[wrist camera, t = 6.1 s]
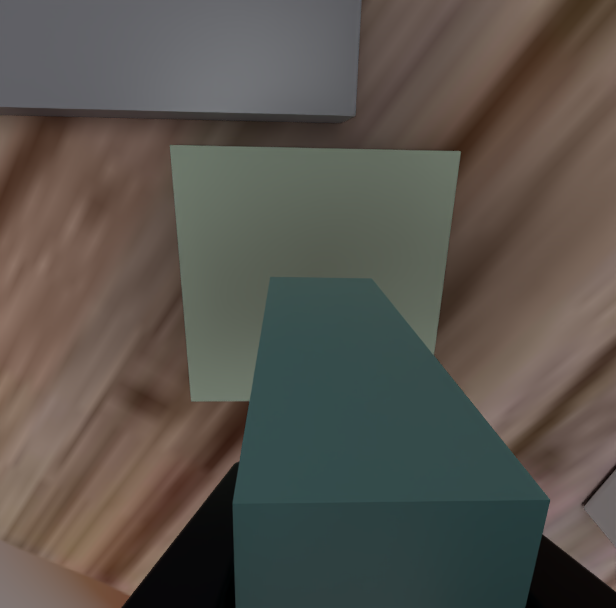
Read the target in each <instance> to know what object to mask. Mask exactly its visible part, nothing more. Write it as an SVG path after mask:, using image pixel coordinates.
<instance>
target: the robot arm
mask: <svg viewBox="0 0 616 608" xmlns="http://www.w3.org/2000/svg"><path fill="white" fill-rule="evenodd" d="M238 468H239V462H237V463H235V464H234V465H233V466H232V467H231V469H230V470H229V471H228V473H227V474H226V475H225V476H224V478H223V479H222V480H221V481H220V483H219V484H218V485H217V487H216V488H215V489H214V490H213V492H212V493H211V494H210V496H209V497H208V498H207V499H206V501H205V502H204V503H203V504H202V506H201V507H200V508H199V510H198V511H197V512H196V513H195V515H194V516H193V517H192V518H191V520H190V521H189V522H188V524H187V525H186V526H185V527H184V529H183V530H182V531H181V532H180V534H179V535H178V536H177V538H176V539H175V540H174V541H173V543H172V544H171V545H170V546H169V548H168V549H167V550H166V552H165V553H164V554H163V555H162V557H161V558H160V559H159V560H158V562H157V563H156V564H155V566H154V567H153V568H152V569H151V571H150V572H149V573H148V574H147V576H146V577H145V578H144V580H143V581H142V582H141V583H140V585H139V586H138V587H137V589H136V590H135V591H134V592H133V594H132V595H131V596H130V597H129V599H128V600H127V601H126V603H125V604H124V605H123V606H122V608H236V604H235V571H234V537H233V498H234V492H235V486H236V480H237V474H238ZM525 608H616V592H615V591H614V590H613V589H612V588H610V587H609V586H608V585H607V584H605V583H604V582H603V581H601V580H600V579H599V578H598V577H596V576H595V575H594V574H592V573H591V572H590V571H589V570H587V569H586V568H585V567H584V566H582V565H581V564H580V563H578V562H577V561H576V560H575V559H573V558H572V557H571V556H570V555H568V554H567V553H566V552H564V551H563V550H562V549H561V548H559V547H558V546H557V545H555V544H554V543H553V542H552V541H550V540H549V539H548V538H547V537H545V536H544V535H543V534H542V537H541V542H540V546H539V550H538V555H537V559H536V563H535V568H534V572H533V576H532V580H531V585H530V589H529V593H528V598H527V602H526V606H525Z"/></svg>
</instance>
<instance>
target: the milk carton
mask: <svg viewBox="0 0 616 608" xmlns="http://www.w3.org/2000/svg"><path fill="white" fill-rule="evenodd" d="M584 509H585V511H586V512H587V513H588V514H589V515H590V517H591V518H592V519H593V520H594V522H595V523H596V524H597V525H598V526H599V528H600V529H601V530H602V531H603V532H604V534H605V535H606V536H607V537H608V538H609V540H610V541H611V542H612V543H613V544H614V546H615V547H616V470H615V471H614V472H613V473H612V474H611V475H610V477H609V478H608V479H607V480H606V481H605V482H604V484H603V485H602V486H601V487H600V488H599V489H598V491H597V492H596V493H595V494H594V495H593V496H592V498H591V499H590V500H589V501H588V502H587V504H586V505H585V506H584Z"/></svg>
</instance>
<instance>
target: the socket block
mask: <svg viewBox="0 0 616 608" xmlns="http://www.w3.org/2000/svg"><path fill="white" fill-rule="evenodd" d="M360 19H361V0H0V115H20V116H62V117H103V118H144V119H185V120H226V121H268V122H309V123H343V122H345V121H347V120H349V119H350V118H352V117H354V116H355V114H356V95H357V76H358V57H359V38H360Z"/></svg>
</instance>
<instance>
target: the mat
mask: <svg viewBox="0 0 616 608" xmlns="http://www.w3.org/2000/svg"><path fill="white" fill-rule="evenodd" d="M170 154H171V166H172V178H173V190H174V202H175V214H176V226H177V238H178V250H179V262H180V274H181V286H182V298H183V310H184V322H185V334H186V346H187V358H188V370H189V382H190V394H191V401H250V395H251V389H252V383H253V377H254V371H255V365H256V359H257V353H258V347H259V341H260V335H261V329H262V323H263V317H264V311H265V305H266V299H267V293H268V287H269V281H270V277H314V278H372V279H373V281H374V282H375V283H376V284H377V285H378V287H379V288H380V289H381V290H382V292H383V293H384V294H385V295H386V297H387V298H388V299H389V300H390V302H391V303H392V304H393V305H394V307H395V308H396V309H397V310H398V312H399V313H400V314H401V315H402V317H403V318H404V319H405V320H406V321H407V323H408V324H409V325H410V326H411V328H412V329H413V330H414V331H415V333H416V334H417V335H418V336H419V338H420V339H421V340H422V341H423V343H424V344H425V345H426V346H427V348H428V349H429V350H430V351H431V353H432V354H433V355H434V351H435V344H436V336H437V328H438V321H439V313H440V306H441V298H442V290H443V283H444V275H445V268H446V260H447V253H448V245H449V237H450V230H451V222H452V215H453V207H454V199H455V192H456V184H457V177H458V169H459V161H460V154H461V151H427V150H381V149H334V148H287V147H241V146H194V145H170Z"/></svg>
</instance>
